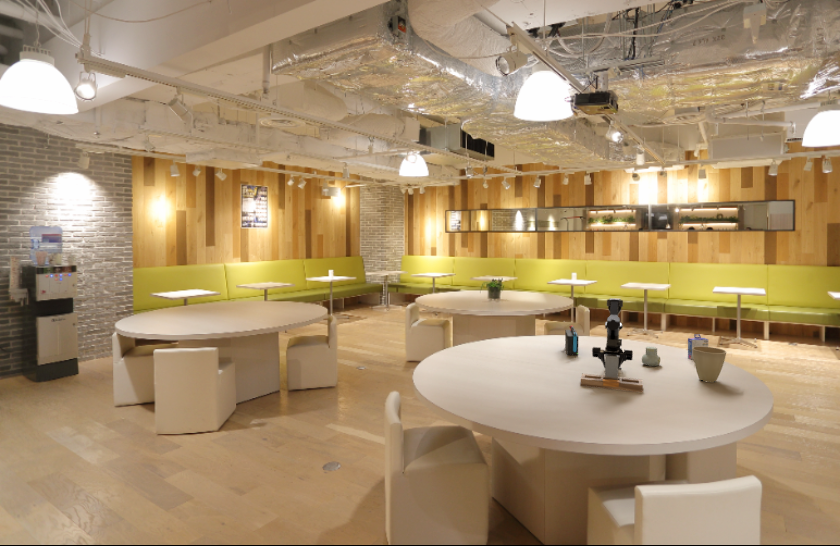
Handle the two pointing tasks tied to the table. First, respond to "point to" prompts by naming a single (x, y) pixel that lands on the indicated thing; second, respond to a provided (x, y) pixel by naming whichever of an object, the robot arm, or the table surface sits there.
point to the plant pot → (708, 362)
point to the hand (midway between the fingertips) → (611, 368)
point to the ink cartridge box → (696, 344)
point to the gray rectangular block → (611, 367)
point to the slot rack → (612, 383)
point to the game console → (571, 341)
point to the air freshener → (651, 357)
